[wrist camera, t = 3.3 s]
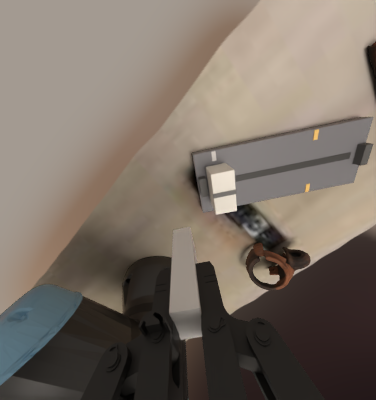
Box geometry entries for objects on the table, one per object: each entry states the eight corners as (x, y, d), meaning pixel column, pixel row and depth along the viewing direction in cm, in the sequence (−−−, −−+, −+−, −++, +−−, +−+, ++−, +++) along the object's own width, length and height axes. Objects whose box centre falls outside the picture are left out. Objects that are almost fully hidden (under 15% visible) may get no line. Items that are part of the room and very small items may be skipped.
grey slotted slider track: (201, 207, 29) (204, 216, 26) (191, 152, 24) (193, 156, 22) (342, 178, 28) (361, 184, 25) (358, 117, 24) (383, 116, 21)
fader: (210, 202, 26) (215, 215, 22) (205, 167, 23) (210, 175, 19) (228, 198, 26) (237, 211, 22) (225, 162, 23) (235, 170, 19)
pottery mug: (259, 274, 39) (259, 300, 32) (239, 242, 39) (234, 260, 32) (313, 260, 33) (327, 287, 26) (289, 222, 34) (296, 238, 27)
